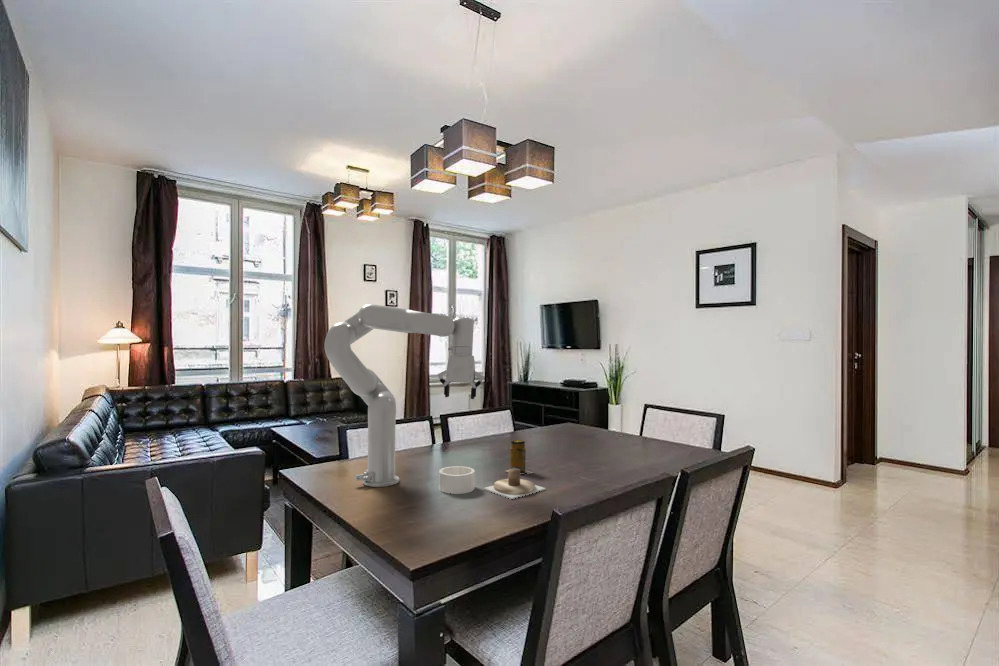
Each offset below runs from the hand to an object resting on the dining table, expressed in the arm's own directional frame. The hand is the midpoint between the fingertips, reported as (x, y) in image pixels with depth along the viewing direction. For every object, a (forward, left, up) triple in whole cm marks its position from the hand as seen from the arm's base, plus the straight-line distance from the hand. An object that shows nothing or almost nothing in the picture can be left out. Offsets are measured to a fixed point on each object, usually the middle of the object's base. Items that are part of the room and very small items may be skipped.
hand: (459, 397), depth 184 cm
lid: (+6, -23, -29) cm, 37 cm away
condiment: (+23, -8, -30) cm, 39 cm away
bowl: (-8, -9, -30) cm, 32 cm away
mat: (+6, -23, -30) cm, 38 cm away
